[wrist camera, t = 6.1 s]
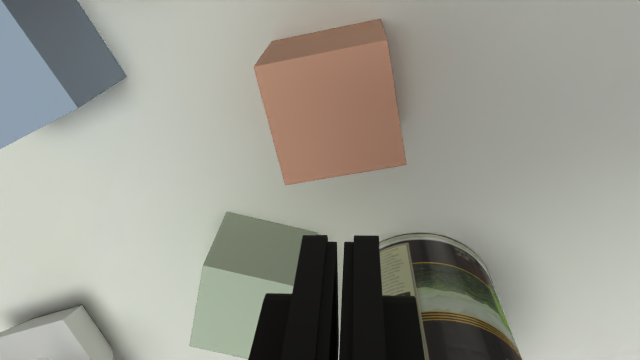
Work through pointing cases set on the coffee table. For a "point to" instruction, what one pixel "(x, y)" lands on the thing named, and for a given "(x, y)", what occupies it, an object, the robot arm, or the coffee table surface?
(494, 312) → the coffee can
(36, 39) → the slate block
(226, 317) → the sage block
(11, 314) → the coffee table surface
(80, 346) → the figurine
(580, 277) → the coffee table surface
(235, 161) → the coffee table surface
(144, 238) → the coffee table surface
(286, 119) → the terracotta block
